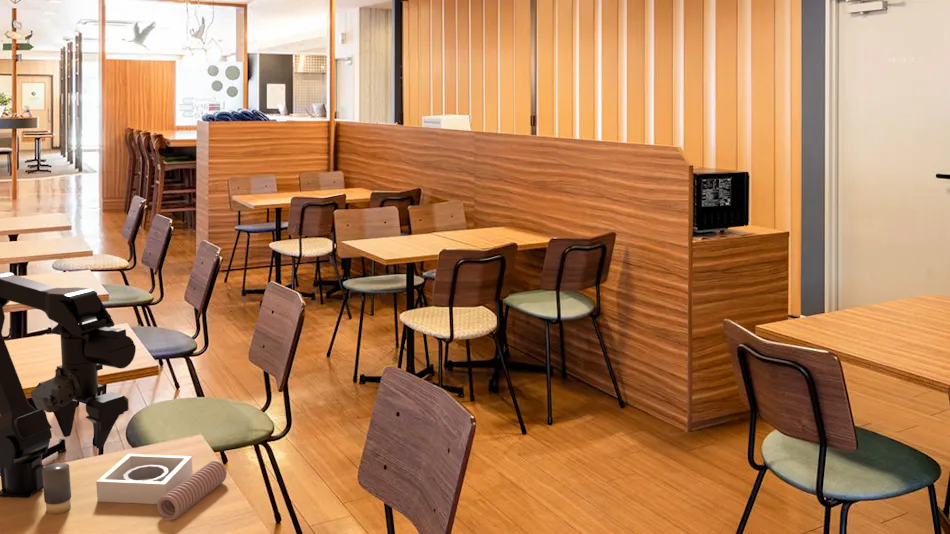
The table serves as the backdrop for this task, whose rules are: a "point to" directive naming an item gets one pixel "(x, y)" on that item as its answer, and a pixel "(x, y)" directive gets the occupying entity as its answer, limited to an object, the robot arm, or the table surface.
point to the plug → (57, 488)
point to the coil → (191, 490)
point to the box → (143, 478)
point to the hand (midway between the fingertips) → (83, 442)
